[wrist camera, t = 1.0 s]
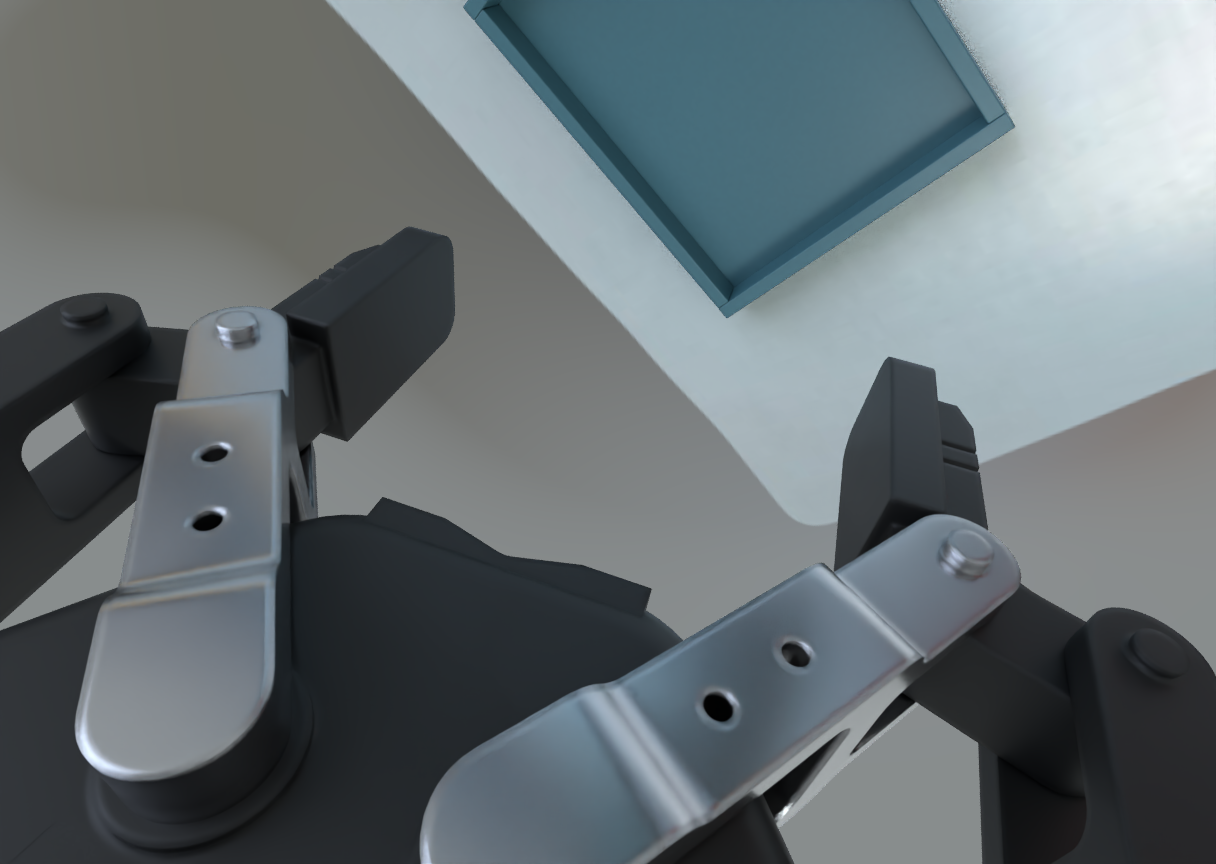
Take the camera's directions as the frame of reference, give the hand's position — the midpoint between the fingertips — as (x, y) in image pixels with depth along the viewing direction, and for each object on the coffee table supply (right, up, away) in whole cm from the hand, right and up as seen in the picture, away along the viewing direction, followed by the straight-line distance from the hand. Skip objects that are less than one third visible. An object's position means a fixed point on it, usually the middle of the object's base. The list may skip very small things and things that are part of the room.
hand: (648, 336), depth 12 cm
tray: (+6, +17, +22) cm, 29 cm away
